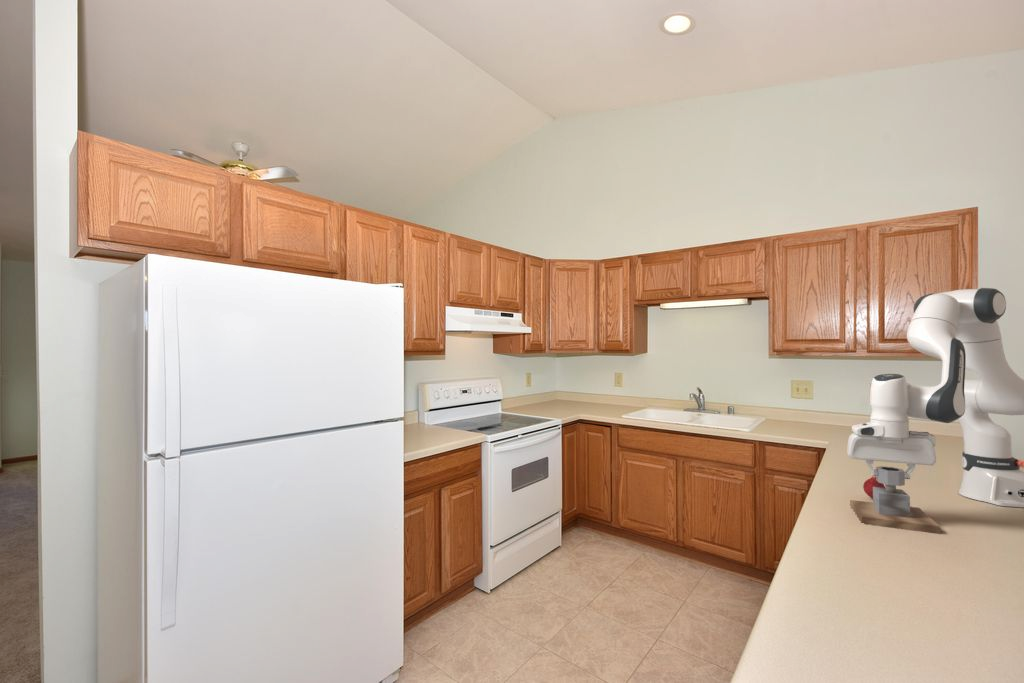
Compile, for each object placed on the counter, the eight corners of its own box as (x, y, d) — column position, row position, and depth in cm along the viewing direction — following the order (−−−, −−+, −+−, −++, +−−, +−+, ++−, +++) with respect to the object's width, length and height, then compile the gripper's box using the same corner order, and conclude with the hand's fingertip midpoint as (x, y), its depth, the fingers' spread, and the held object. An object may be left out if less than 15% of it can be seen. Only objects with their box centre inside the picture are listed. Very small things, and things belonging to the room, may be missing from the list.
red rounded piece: (889, 503, 149) (889, 478, 149) (869, 502, 150) (869, 477, 151) (879, 497, 155) (879, 473, 155) (859, 496, 156) (859, 472, 156)
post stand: (919, 514, 139) (918, 474, 139) (939, 533, 125) (938, 488, 125) (850, 506, 147) (849, 468, 147) (861, 523, 132) (860, 481, 132)
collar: (900, 481, 137) (900, 467, 137) (906, 486, 132) (906, 472, 132) (875, 478, 140) (874, 465, 140) (880, 484, 134) (880, 470, 134)
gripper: (931, 430, 134) (932, 478, 134) (845, 425, 143) (846, 470, 143) (939, 434, 129) (940, 484, 128) (849, 428, 138) (850, 475, 137)
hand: (890, 477), depth 136 cm, fingers closed on collar, 6 cm apart
